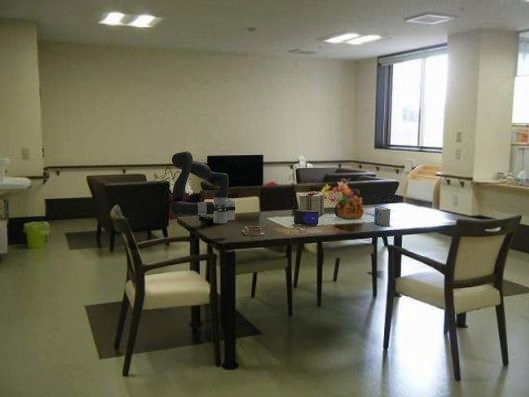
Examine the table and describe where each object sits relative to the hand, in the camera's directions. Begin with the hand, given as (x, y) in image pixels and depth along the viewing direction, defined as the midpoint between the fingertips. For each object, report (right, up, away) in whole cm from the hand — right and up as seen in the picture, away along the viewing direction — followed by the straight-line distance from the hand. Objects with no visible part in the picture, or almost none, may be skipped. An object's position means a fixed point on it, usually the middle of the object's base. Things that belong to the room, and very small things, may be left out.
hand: (234, 207), depth 310 cm
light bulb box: (+97, -12, +49) cm, 109 cm away
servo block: (-3, -7, 0) cm, 7 cm away
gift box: (+51, -7, +83) cm, 98 cm away
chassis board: (+11, -16, +9) cm, 21 cm away
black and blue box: (+45, -12, +42) cm, 63 cm away
